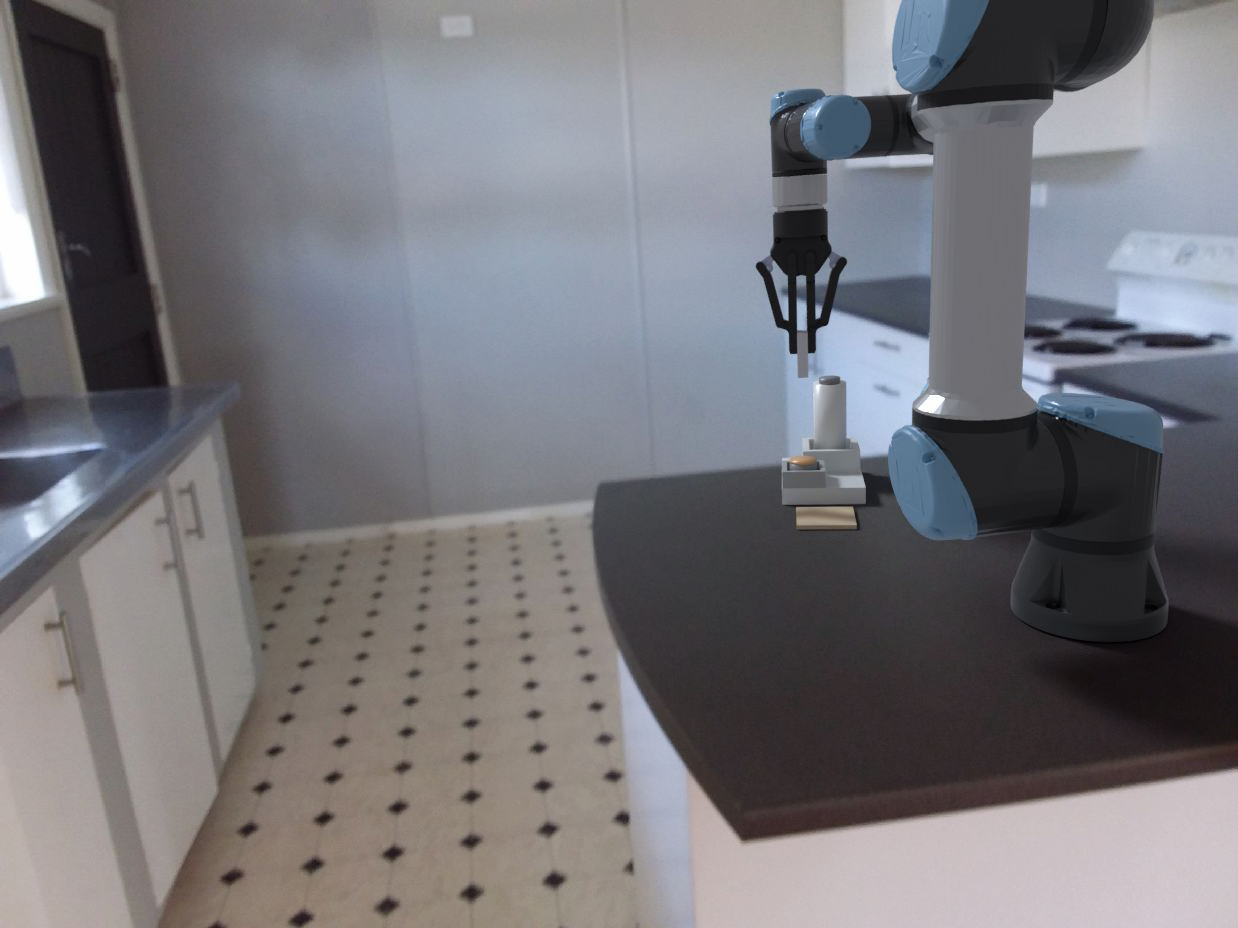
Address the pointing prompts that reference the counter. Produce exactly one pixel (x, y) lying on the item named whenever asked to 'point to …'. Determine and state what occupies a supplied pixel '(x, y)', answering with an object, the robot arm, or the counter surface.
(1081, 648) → the counter surface
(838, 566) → the counter surface
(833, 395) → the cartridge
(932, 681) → the counter surface
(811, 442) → the housing
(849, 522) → the coaster
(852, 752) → the counter surface
